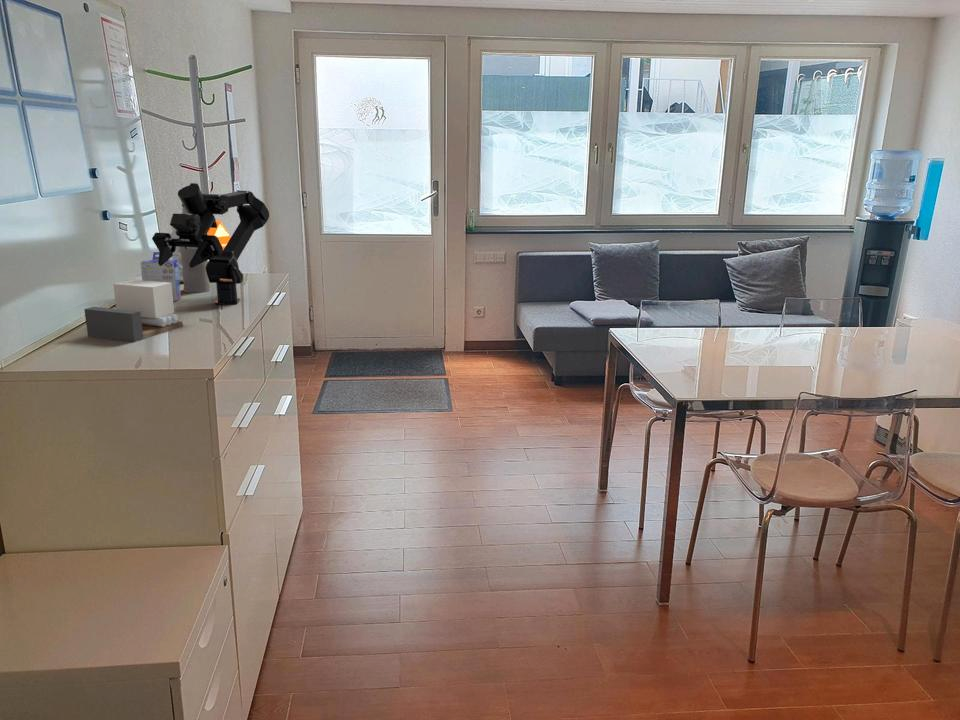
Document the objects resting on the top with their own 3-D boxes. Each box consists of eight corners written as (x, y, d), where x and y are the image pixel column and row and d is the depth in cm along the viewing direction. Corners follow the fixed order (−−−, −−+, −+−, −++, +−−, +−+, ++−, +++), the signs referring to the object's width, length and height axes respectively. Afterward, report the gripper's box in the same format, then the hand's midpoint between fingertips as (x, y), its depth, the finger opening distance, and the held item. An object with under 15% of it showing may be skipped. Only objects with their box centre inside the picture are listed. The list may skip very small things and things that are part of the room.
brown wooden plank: (139, 321, 203) (138, 317, 203) (182, 325, 199) (182, 321, 199) (87, 336, 187) (87, 331, 186) (134, 341, 183) (134, 337, 182)
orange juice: (216, 273, 278) (212, 218, 273) (233, 275, 274) (229, 220, 268) (199, 276, 272) (195, 220, 266) (216, 278, 267) (212, 221, 262)
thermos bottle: (199, 287, 251) (192, 202, 244) (215, 290, 247) (208, 203, 239) (179, 290, 245) (171, 203, 237) (194, 293, 241) (187, 204, 233)
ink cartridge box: (181, 297, 234) (177, 251, 230) (178, 301, 229) (173, 254, 225) (148, 298, 232) (143, 251, 228) (143, 301, 227) (138, 254, 223)
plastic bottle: (180, 284, 255) (175, 225, 249) (168, 282, 258) (162, 223, 253) (196, 282, 260) (191, 223, 255) (184, 279, 263) (179, 222, 258)
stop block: (96, 333, 189) (93, 306, 187) (143, 339, 185) (140, 311, 184) (87, 336, 187) (84, 309, 185) (134, 341, 183) (131, 313, 181)
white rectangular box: (133, 317, 201) (129, 279, 198) (178, 322, 197) (175, 283, 194) (114, 323, 195) (109, 283, 192) (160, 327, 191) (156, 287, 188)
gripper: (156, 202, 206) (130, 241, 197) (218, 205, 202) (194, 245, 193) (173, 233, 215) (148, 272, 205) (232, 236, 211) (210, 275, 202)
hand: (174, 265), depth 201 cm, fingers open, 9 cm apart
